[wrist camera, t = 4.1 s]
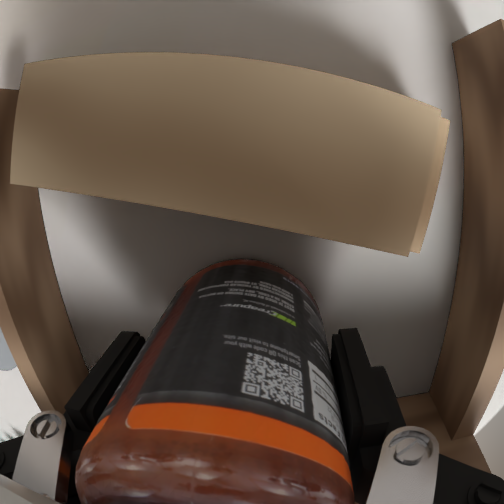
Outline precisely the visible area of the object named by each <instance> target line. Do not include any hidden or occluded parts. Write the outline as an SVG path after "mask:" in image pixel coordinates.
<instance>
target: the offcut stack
mask: <svg viewBox="0 0 504 504" xmlns="http://www.w3.org/2000/svg"><path fill="white" fill-rule="evenodd" d="M449 125H450V121H449V120H447V119H445V118H442V117H441V109H438V108H436V107H433V106H431V105H428V104H426V103H423V102H421V101H418V100H415V99H412V98H410V97H407V96H404V95H401V94H398V93H395V92H392V91H389V90H386V89H383V88H380V87H377V86H374V85H370V84H367V83H364V82H360V81H356V80H353V79H349V78H345V77H342V76H338V75H334V74H329V73H325V72H321V71H316V70H312V69H307V68H302V67H297V66H292V65H287V64H281V63H275V62H269V61H262V60H255V59H248V58H240V57H231V56H221V55H210V54H195V53H173V52H130V53H108V54H94V55H83V56H73V57H65V58H57V59H50V60H44V61H38V62H32V63H27V64H24V69H23V74H22V79H21V84H20V89H19V95H18V101H17V107H16V115H15V122H14V131H13V141H12V154H11V173H10V184H16V185H24V186H31V187H38V188H44V189H51V190H58V191H64V192H71V193H77V194H84V195H90V196H96V197H103V198H109V199H115V200H121V201H127V202H133V203H139V204H145V205H151V206H156V207H162V208H168V209H173V210H179V211H185V212H190V213H196V214H201V215H207V216H212V217H217V218H223V219H228V220H233V221H239V222H244V223H249V224H254V225H259V226H264V227H269V228H275V229H280V230H285V231H290V232H295V233H299V234H304V235H309V236H314V237H319V238H324V239H328V240H333V241H338V242H343V243H347V244H352V245H357V246H361V247H366V248H370V249H375V250H380V251H384V252H389V253H393V254H397V255H402V256H406V257H408V255H409V252H410V251H411V252H415V253H420V250H421V247H422V244H423V240H424V237H425V233H426V230H427V226H428V223H429V219H430V216H431V212H432V208H433V204H434V200H435V196H436V192H437V188H438V183H439V179H440V174H441V169H442V165H443V160H444V154H445V149H446V143H447V138H448V132H449Z"/></svg>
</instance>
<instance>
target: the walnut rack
mask: <svg viewBox="0 0 504 504" xmlns="http://www.w3.org/2000/svg"><path fill="white" fill-rule="evenodd" d="M452 46H453V52H454V57H455V63H456V69H457V76H458V83H459V91H460V100H461V111H462V123H463V142H464V199H463V218H462V231H461V241H460V251H459V259H458V267H457V274H456V280H455V287H454V293H453V298H452V304H451V309H450V314H449V319H448V323H447V328H446V332H445V337H444V341H443V345H442V349H441V353H440V356H439V360H438V364H437V367H436V371H435V374H434V378H433V381H432V384H431V387H430V390H429V392H428V393H423V394H417V395H412V396H406V397H400V398H397V401H398V404H399V406H400V409H401V412H402V415H403V417H404V420H405V423H406V426H416V427H421V428H424V429H426V430H428V431H430V432H431V433H432V434H433V435H434V436H435V437H436V439H437V441H438V444H439V453H440V454H442V455H445V456H447V457H449V458H452V459H454V460H457V461H459V462H462V463H464V464H467V465H469V466H472V467H475V468H477V469H480V470H483V471H485V472H488V473H491V471H490V469H489V467H488V465H487V463H486V460H485V458H484V456H483V454H482V452H481V450H480V448H479V446H478V443H477V441H476V439H475V437H474V435H473V434H474V432H475V430H476V428H477V426H478V424H479V422H480V420H481V418H482V416H483V414H484V412H485V410H486V408H487V406H488V404H489V402H490V400H491V398H492V395H493V393H494V391H495V389H496V386H497V384H498V382H499V379H500V377H501V374H502V372H503V369H504V20H502V19H500V20H497V21H495V22H493V23H491V24H489V25H487V26H485V27H483V28H481V29H479V30H477V31H475V32H473V33H471V34H469V35H467V36H465V37H463V38H461V39H459V40H457V41H455V42H454V43H452ZM18 95H19V90H11V89H0V328H1V330H2V333H3V335H4V338H5V340H6V342H7V345H8V347H9V349H10V351H11V354H12V356H13V358H14V360H15V362H16V365H17V367H18V369H19V371H20V373H21V375H22V377H23V379H24V381H25V383H26V385H27V386H28V388H29V390H30V392H31V394H32V396H33V398H34V399H35V401H36V403H37V405H38V406H39V408H40V410H41V412H43V411H48V410H53V411H58V412H60V413H61V414H62V415H63V414H64V413H65V411H66V410H65V408H64V406H65V405H66V404H67V402H68V401H69V399H70V398H71V397H72V395H73V394H74V393H75V391H76V390H77V389H78V387H79V386H80V385H81V383H82V382H83V381H84V379H85V378H86V377H87V375H88V374H89V372H88V370H87V367H86V365H85V362H84V360H83V357H82V355H81V352H80V350H79V347H78V344H77V342H76V339H75V336H74V333H73V331H72V328H71V325H70V322H69V319H68V316H67V313H66V310H65V306H64V303H63V300H62V297H61V293H60V290H59V286H58V283H57V279H56V276H55V272H54V268H53V264H52V260H51V256H50V252H49V247H48V243H47V238H46V233H45V229H44V223H43V218H42V213H41V207H40V201H39V194H38V188H37V187H31V186H24V185H16V184H10V173H11V154H12V141H13V131H14V122H15V115H16V107H17V101H18ZM491 474H492V473H491ZM354 504H358V503H356V502H355V501H354Z"/></svg>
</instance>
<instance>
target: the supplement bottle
mask: <svg viewBox="0 0 504 504" xmlns="http://www.w3.org/2000/svg"><path fill="white" fill-rule="evenodd" d="M75 484H76V489H77V493H78V497H79V499H80V502H81V504H354V492H353V486H352V480H351V473H350V462H349V457H348V452H347V445H346V439H345V434H344V428H343V422H342V417H341V412H340V406H339V400H338V396H337V390H336V385H335V379H334V375H333V371H332V365H331V359H330V355H329V350H328V346H327V341H326V336H325V332H324V328H323V323H322V319H321V317H320V313H319V309H318V307H317V305H316V302H315V300H314V299H313V297H312V295H311V294H310V292H309V291H308V289H307V288H306V287H305V286H304V285H303V283H302V282H301V281H300V280H298V279H297V278H295V277H294V276H292V275H291V274H290V273H288V272H287V271H285V270H283V269H282V268H280V267H277V266H275V265H272V264H270V263H265V262H262V261H257V260H246V259H235V260H228V261H223V262H220V263H216V264H214V265H211V266H209V267H207V268H205V269H203V270H201V271H199V272H198V273H196V274H195V275H194V276H192V277H191V278H190V279H189V280H188V281H187V282H186V283H185V284H184V285H183V287H182V288H181V289H180V290H179V291H178V292H177V294H176V296H175V297H174V298H173V300H172V301H171V303H170V305H169V306H168V308H167V309H166V311H165V313H164V314H163V315H162V317H161V319H160V320H159V322H158V323H157V325H156V327H155V328H154V330H153V331H152V333H151V335H150V336H149V338H148V339H147V341H146V342H145V344H144V345H143V347H142V349H141V351H140V352H139V354H138V355H137V357H136V358H135V360H134V362H133V364H132V365H131V367H130V368H129V370H128V372H127V373H126V375H125V377H124V378H123V380H122V381H121V383H120V385H119V386H118V388H117V390H116V391H115V393H114V395H113V396H112V398H111V399H110V401H109V403H108V405H107V406H106V408H105V410H104V411H103V413H102V414H101V416H100V418H99V419H98V421H97V424H96V426H95V428H94V429H93V431H92V433H91V435H90V436H89V438H88V440H87V442H86V443H85V445H84V447H83V449H82V451H81V454H80V457H79V460H78V462H77V465H76V474H75Z"/></svg>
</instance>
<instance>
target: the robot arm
mask: <svg viewBox="0 0 504 504" xmlns="http://www.w3.org/2000/svg"><path fill="white" fill-rule="evenodd" d="M145 342H146V341H145V339H144V337H142V336H140V334H139V333H138V332H125V331H123V332H121V333H120V334H119V335H118V337H117V338H116V339H115V340H114V342H113V343H112V344H111V345H110V347H109V348H108V349H107V351H106V352H105V353H104V354H103V356H102V357H101V358H100V360H99V361H98V362H97V364H96V365H95V366H94V367H93V369H92V370H91V371H90V373H89V374H88V375H87V377H86V378H85V379H84V381H83V382H82V383H81V385H80V386H79V387H78V389H77V390H76V391H75V393H74V394H73V395H72V397H71V398H70V399H69V401H68V402H67V404H66V405H65V406H64V408H65V410H66V411H65V413H64V414H63V415H62V414H61V413H60V412H58V411H53V410H48V411H43V412H41V413H38V414H37V415H35V416H34V417H32V419H31V420H30V421H29V422H28V424H27V427H26V430H25V433H24V436H21V437H17V438H14V439H11V440H8V441H5V442H1V443H0V504H81V502H80V499H79V497H78V493H77V489H76V484H75V474H76V465H77V462H78V460H79V457H80V454H81V451H82V449H83V447H84V445H85V443H86V442H87V440H88V438H89V436H90V435H91V433H92V431H93V429H94V428H95V426H96V424H97V421H98V419H99V418H100V416H101V414H102V413H103V411H104V410H105V408H106V406H107V405H108V403H109V401H110V399H111V398H112V396H113V395H114V393H115V391H116V390H117V388H118V386H119V385H120V383H121V381H122V380H123V378H124V377H125V375H126V373H127V372H128V370H129V368H130V367H131V365H132V364H133V362H134V360H135V358H136V357H137V355H138V354H139V352H140V351H141V349H142V347H143V345H144V344H145ZM331 365H332V371H333V375H334V379H335V385H336V390H337V396H338V400H339V406H340V412H341V417H342V422H343V428H344V434H345V439H346V445H347V452H348V457H349V462H350V473H351V480H352V486H353V492H354V501H355V502H356V503H358V504H504V480H503V479H502V478H500V477H498V476H496V475H493V474H491V473H488V472H485V471H483V470H480V469H477V468H475V467H472V466H469V465H467V464H464V463H462V462H459V461H457V460H454V459H452V458H449V457H447V456H445V455H442V454H440V453H439V444H438V441H437V439H436V437H435V436H434V435H433V434H432V433H431V432H430V431H428V430H426V429H424V428H421V427H416V426H406V423H405V420H404V417H403V415H402V412H401V409H400V406H399V404H398V401H397V398H396V396H395V393H394V391H393V388H392V385H391V383H390V380H389V378H388V375H387V373H386V370H385V368H384V367H383V366H377V367H371V366H370V363H369V360H368V357H367V355H366V352H365V349H364V346H363V343H362V341H361V338H360V335H359V333H358V330H357V328H350V329H339V331H338V334H333V335H332V347H331Z"/></svg>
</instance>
